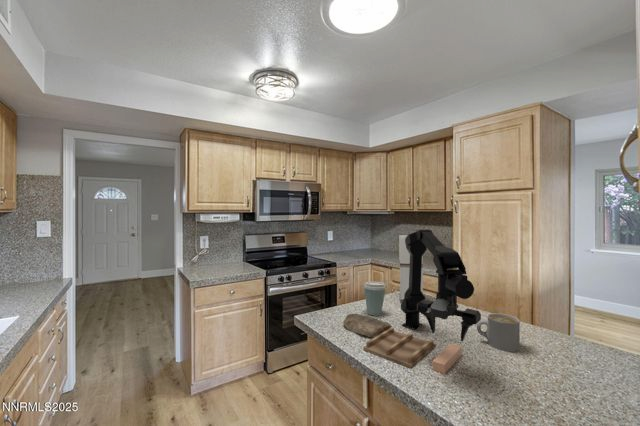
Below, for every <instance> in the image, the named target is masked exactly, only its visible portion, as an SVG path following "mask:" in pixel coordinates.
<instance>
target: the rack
mask: <svg viewBox="0 0 640 426" xmlns="http://www.w3.org/2000/svg"><path fill="white" fill-rule="evenodd" d="M407 335H408V334H405V333H403V332H400V331H396V330H394V332H393V333H392V334H390V335H388V336H387V337H385V338H384V339H382V340H380V341H379V342H377V343H375V344H374V345H372V346H371V347H369V348H368V347H366V345H365V346H363V351H365V352H367V353H370V354H372V355H375V356H378V357H380V358H383V359H384V360H385V359H386V360H388V361H391V362H393V363H396V364H398V365H401V366H403V367H406V368H409V369H412V368H413V367H414V366H416V365H417V363H419V362H420V361H421V360H423V358H425V356H427V355H428V354H430V352H431V351H433V350H434V349H435V348H436V347H437V343H435V342H434V344H433V345H432V346H431V347H430V348H429V349H427V350H426V351H425V352H424V353H423V354H422V355H420V356H419V357H418V358H417V359H416V360H414V361H413V362H412V363H408V357H409V356H410V355H412V354H413V353H414V352H415V351H417V350H418V349H419V348H420V347H422V346H423V345H424V344H425V343H427V342H428V341H429V340H427V339H426V340H425V339H424V338H423V339H422V338H419V337H416V336H413V338H412V339H410V340H409V341H408V342H406V343H405V344H404V345H402V346H401V347H399V348H398V349H397V350H395V351H394V352H392V353H391V354H390V355H387V354H386V349H388V348H389V347H390V346H392V345H393V344H395V343H396V342H398V341H399V340H401V339H402V338H404V337H405V336H407Z"/></svg>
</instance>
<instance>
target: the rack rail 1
mask: <svg viewBox="0 0 640 426" xmlns="http://www.w3.org/2000/svg"><path fill="white" fill-rule="evenodd" d="M394 331H395V327H393V326H392V327H391V328H390V329H388V330H386V331H385V332H383V333H381V334H380V335H378V336H376V337H372V338H371V339H369V340H368V341H366V343H365V344H366V345H365V346H366V347H368V348H369V347H371V346H372V345H374V344H375V343H377V342H379V341H380V340H382V339H384V338H385V337H387V336H388V335H390V334H392V333H393V332H394Z"/></svg>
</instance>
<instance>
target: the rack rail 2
mask: <svg viewBox="0 0 640 426" xmlns="http://www.w3.org/2000/svg"><path fill="white" fill-rule="evenodd" d="M434 340H435V339H433V338H431V339H429V340H427V341H428V342H427V343H425V344H424V345H423V346H422V347H420V348H419V349H418V350H417V351H415V352H414V353H413V354H412V355H410V356H409V357H408V363H412V362H413V361H414V360H416V359H417V358H418V357H419V356H420V355H422V354H423V353H424V352H425V351H426V350H427V349H429V348H430V347H431V346H432V345H433V344H434V343H435V341H434Z"/></svg>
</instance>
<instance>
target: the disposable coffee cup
mask: <svg viewBox="0 0 640 426" xmlns="http://www.w3.org/2000/svg"><path fill="white" fill-rule="evenodd" d="M363 289H364V297H365V304H366V312H367V314H368V315H370V316H373V317H375V316H376V317H377V316H381V314H382V312H383V306H384V300H385V294H386V289H387V285H386V284H385V283H384V282H380V281H366V282H364V284H363Z"/></svg>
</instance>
